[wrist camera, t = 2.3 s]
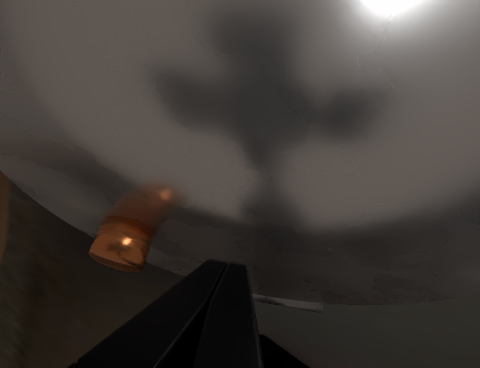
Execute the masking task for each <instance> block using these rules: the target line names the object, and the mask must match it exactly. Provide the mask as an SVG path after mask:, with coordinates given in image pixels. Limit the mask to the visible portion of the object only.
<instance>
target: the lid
mask: <svg viewBox="0 0 480 368" xmlns="http://www.w3.org/2000/svg"><path fill="white" fill-rule="evenodd" d="M0 170H1V171H2V172H3V173H4V174H5V176H7V177H8V178H9V179H10V180H11V181H12V182H13V183H14V184H16V185H17V186H18V187H19V188H20V189H21V190H22V191H24V192H25V193H26V194H27V195H29V196H30V197H31V198H32V199H34V200H35V201H36V202H38V203H39V204H40V205H42V206H43V207H44V208H46V209H47V210H49V211H50V212H52V213H53V214H55V215H56V216H58V217H59V218H61V219H62V220H64V221H65V222H67V223H68V224H70V225H72V226H74V227H75V228H77V229H79V230H80V231H82V232H84V233H85V234H87V235H89V236H91V237H93V238H95V239H94V241H93V243H92V246H91V248H90V250H89V256H90V257H91V258H92V259H94V260H95V261H97V262H99V263H101V264H103V265H105V266H108V267H111V268H114V269H117V270H121V271H127V272H140V271H142V270H143V267H144V264H145V262H147V263H149V264H152V265H154V266H157V267H160V268H162V269H165V270H168V271H171V272H173V273H176V274H180V275H183V276H187V275H188V274H189V273H191V272H192V271H193V270H194V269H196V268H197V267H198V266H200V265H201V264H202V263H204V262H205V261H206V260H208V259H217V260H223V261H226V262H227V263H229V262H235V263H241V264H246V265H247V266H248V271H249V277H250V283H251V289H252V295H253V301H257V302H263V303H268V304H274V305H279V306H285V307H291V308H296V309H302V310H307V311H313V312H318V313H322V310H323V304H324V303H326V304H344V305H392V304H410V303H419V302H429V301H438V300H444V299H450V298H456V297H462V296H467V295H471V294H475V293H479V292H480V0H0Z"/></svg>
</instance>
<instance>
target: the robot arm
mask: <svg viewBox="0 0 480 368" xmlns="http://www.w3.org/2000/svg"><path fill="white" fill-rule="evenodd" d="M67 368H309V367H307V366H306V365H305V364H303V363H302V362H300V361H299V360H298V359H296V358H295V357H293V356H292V355H291V354H289V353H288V352H287V351H285V350H284V349H282V348H281V347H280V346H278V345H277V344H275V343H274V342H273V341H271V340H270V339H269V338H267V337H265V336H259V332H258V326H257V320H256V314H255V307H254V301H253V295H252V289H251V283H250V277H249V271H248V266H247V265H246V264H241V263H235V262H229V263H227V262H226V261H223V260H217V259H208V260H206V261H205V262H204V263H202V264H201V265H200V266H198V267H197V268H196V269H194V270H193V271H192V272H191V273H189V274H188V275H187V276H185V277H184V278H183V279H182V280H180V281H179V282H178V283H176V284H175V285H174V286H172V287H171V288H170V289H169V290H167V291H166V292H165V293H163V294H162V295H161V296H160V297H158V298H157V299H156V300H154V301H153V302H152V303H150V304H149V305H148V306H147V307H145V308H144V309H143V310H141V311H140V312H139V313H137V314H136V315H135V316H134V317H132V318H131V319H130V320H128V321H127V322H126V323H125V324H123V325H122V326H121V327H119V328H118V329H117V330H115V331H114V332H113V333H112V334H110V335H109V336H108V337H106V338H105V339H104V340H103V341H101V342H100V343H99V344H97V345H96V346H95V347H93V348H92V349H91V350H90V351H88V352H87V353H86V354H84V355H83V356H82V357H81V358H79V359H78V360H77V363H73V364H71V365H70V366H69V367H67Z"/></svg>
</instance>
